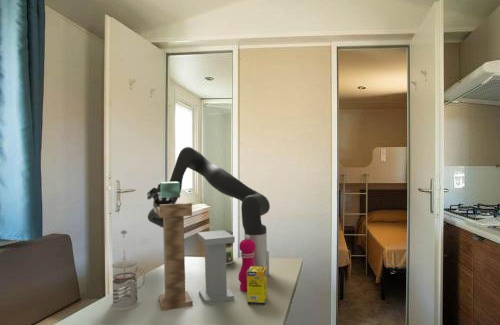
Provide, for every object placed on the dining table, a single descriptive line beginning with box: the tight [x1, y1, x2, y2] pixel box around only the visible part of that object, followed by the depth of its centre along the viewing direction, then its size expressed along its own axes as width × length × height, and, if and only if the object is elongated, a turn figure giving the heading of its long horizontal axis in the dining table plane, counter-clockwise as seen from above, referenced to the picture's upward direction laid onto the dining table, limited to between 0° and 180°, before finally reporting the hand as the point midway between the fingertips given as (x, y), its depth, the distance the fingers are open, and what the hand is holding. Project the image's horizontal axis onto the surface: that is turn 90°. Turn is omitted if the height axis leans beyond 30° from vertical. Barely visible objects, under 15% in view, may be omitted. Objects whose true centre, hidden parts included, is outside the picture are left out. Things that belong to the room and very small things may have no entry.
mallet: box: [159, 181, 181, 198], centre depth 132 cm, size 6×21×5 cm, turn 20°
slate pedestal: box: [196, 229, 236, 306], centre depth 121 cm, size 10×13×22 cm
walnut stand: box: [156, 202, 194, 311], centre depth 117 cm, size 10×13×34 cm
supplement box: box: [246, 266, 268, 306], centre depth 117 cm, size 6×6×11 cm
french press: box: [109, 229, 146, 311], centre depth 117 cm, size 10×12×25 cm
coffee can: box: [225, 230, 234, 266], centre depth 166 cm, size 10×10×14 cm
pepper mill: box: [237, 235, 256, 293], centre depth 129 cm, size 7×7×20 cm
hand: (165, 185), depth 136 cm, fingers closed on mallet, 3 cm apart
